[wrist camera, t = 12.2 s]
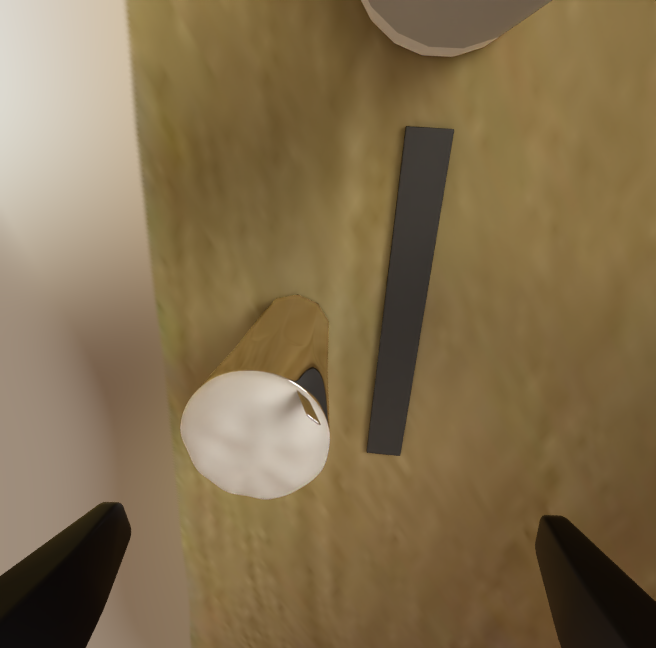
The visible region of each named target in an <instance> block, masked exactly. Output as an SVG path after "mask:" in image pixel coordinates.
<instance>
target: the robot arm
mask: <svg viewBox="0 0 656 648" xmlns="http://www.w3.org/2000/svg"><path fill="white" fill-rule="evenodd" d="M130 536H131V527H130V523H129V521H128V518H127V515H126V513H125V510H124V507H123V505H122V504H121V503H118V502H103V503H101V504H99V505H97V506H96V507H95V508H93V509H92V510H90V511H89V512H88V513H86V514H85V515H84V516H82V517H81V518H79V519H78V520H77V521H75V522H74V523H73V524H71V525H70V526H68V527H67V528H66V529H64V530H63V531H62V532H60V533H59V534H58V535H56V536H55V537H53V538H52V539H51V540H49V541H48V542H46V543H45V544H44V545H42V546H41V547H40V548H38V549H37V550H35V551H34V552H33V553H31V554H30V555H29V556H27V557H26V558H25V559H23V560H22V561H20V562H19V563H18V564H16V565H15V566H13V567H12V568H11V569H10V570H8V571H7V572H5V573H4V574H3V575H1V576H0V648H86V646H87V644H88V642H89V640H90V637H91V635H92V633H93V631H94V629H95V627H96V625H97V623H98V621H99V618H100V616H101V614H102V612H103V609H104V607H105V604H106V602H107V599H108V597H109V594H110V591H111V589H112V586H113V583H114V581H115V578H116V575H117V573H118V570H119V567H120V564H121V562H122V559H123V556H124V554H125V550H126V548H127V545H128V543H129V540H130ZM535 549H536V555H537V559H538V563H539V567H540V571H541V575H542V579H543V582H544V586H545V590H546V594H547V598H548V602H549V606H550V609H551V613H552V617H553V621H554V625H555V628H556V632H557V635H558V639H559V642H560V645H561V648H656V601H654V600H653V599H652V598H651V597H650V596H649V595H648V594H647V593H646V592H645V591H644V590H643V589H642V588H641V587H639V586H638V585H637V584H636V583H635V582H634V581H633V580H632V579H631V578H630V577H629V576H628V575H627V574H626V573H625V572H623V571H622V570H621V569H620V568H619V567H618V566H617V565H616V564H615V563H614V562H613V561H612V560H611V559H610V558H608V557H607V556H606V555H605V554H604V553H603V552H602V551H601V550H600V549H599V548H598V547H597V546H596V545H595V544H594V543H592V542H591V541H590V540H589V539H588V538H587V537H586V536H585V535H584V534H583V533H582V532H581V531H580V530H579V529H578V528H576V527H575V526H574V525H573V524H572V523H571V522H570V521H569V520H568V519H567V518H565V517H563V516H558V515H544V516H542V517H541V519H540V522H539V527H538V532H537V537H536V542H535Z"/></svg>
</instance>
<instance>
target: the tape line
mask: <svg viewBox="0 0 656 648" xmlns="http://www.w3.org/2000/svg"><path fill="white" fill-rule="evenodd" d="M453 134H454V129H443V128H427V127H410V126H406V131H405V139H404V147H403V155H402V164H401V172H400V180H399V188H398V197H397V205H396V213H395V221H394V230H393V238H392V246H391V255H390V263H389V271H388V279H387V288H386V296H385V304H384V312H383V321H382V329H381V337H380V345H379V354H378V362H377V370H376V379H375V387H374V395H373V403H372V412H371V420H370V428H369V436H368V445H367V453H376V454H386V455H396V456H400V454H401V448H402V442H403V436H404V430H405V424H406V418H407V412H408V406H409V400H410V394H411V388H412V382H413V375H414V369H415V363H416V357H417V351H418V345H419V339H420V333H421V327H422V321H423V315H424V309H425V303H426V297H427V291H428V285H429V279H430V273H431V267H432V261H433V255H434V249H435V242H436V236H437V230H438V224H439V218H440V212H441V206H442V200H443V194H444V188H445V182H446V176H447V170H448V164H449V158H450V152H451V146H452V140H453Z"/></svg>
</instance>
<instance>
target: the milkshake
mask: <svg viewBox="0 0 656 648" xmlns="http://www.w3.org/2000/svg"><path fill="white" fill-rule="evenodd" d="M328 343H329V321H328V319H327V317H326V316H325V314H324V312H323V311H322V309H321V308H320V306H319V304H318V303H316V302H314V301H312V300H309V299H307V298H305V297H303V296H300V295H298V294H297V295H291V296H285V297H279V298H276V299H275V300H274V301H273V302H272V303H271V305H270V306H269V307H268V308H267V309H266V310H265V311H264V312H263V313H262V314H261V315H260V317H259V318H258V319H257V321H256V322H255V323H254V324H253V326H252V327H251V328H250V330H249V331H248V332H247V333H246V335H245V336H244V337H243V338H242V340H241V341H240V342H239V344H238V345H237V346H236V347H235V349H234V350H233V351H232V352H231V353H230V354H229V355H228V356H227V357H226V358H225V359H224V360H223V361H222V363H221V364H220V365H219V366H218V367H217V368H216V369H215V370H214V372H213V373H212V374H211V375H210V376H209V377H208V378H207V380H206V381H205V382H204V383H203V384H202V385H201V386H200V387H199V389H198V390H197V391H196V392H195V393H194V394H193V396H192V397H191V398H190V400H189V401H188V403H187V405H186V407H185V409H184V412H183V415H182V418H181V425H180V431H181V436H182V440H183V442H184V445H185V447H186V449H187V451H188V453H189V456H190V458H191V460H192V462H193V464H194V466H195V467H196V469H197V470H198V472H199V473H201V474H202V475H203V476H205V477H206V478H208V479H209V480H210V481H212V482H213V483H214V484H216V485H217V486H218V487H219V488H221V489H223V490H224V491H226V492H229V493H233V494H238V495H245V496H250V497H255V498H259V499H273V498H278V497H282V496H285V495H288V494H290V493H292V492H294V491H296V490H298V489H300V488H301V487H303V486H305V485H306V484H308V483H309V482H311V481H312V480H313V479H314V478H315V477H316V476H317V475H318V474H319V473H320V472H321V470H322V469H323V467H324V465H325V462H326V459H327V456H328V451H329V443H330V430H329V397H328Z"/></svg>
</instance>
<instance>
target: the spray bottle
mask: <svg viewBox="0 0 656 648" xmlns="http://www.w3.org/2000/svg"><path fill="white" fill-rule="evenodd" d="M361 1H362V3H363V5H364V7H365V9H366V11H367V13H368V15H369V17H370V19H371V21H372V22H373V23H374V24H375V25H376V26H377V27H378V28H379V29H380V30H381V31H382V32H383V33H385V34H386V35H387V36H388V37H389V38H390V39H391V40H392V41H393V42H394V43H395V44H397V45H400V46H402V47H404V48H406V49H409V50H411V51H413V52H415V53H418V54H420V55H423V56H445V57H454V56H457V55H460V54H464V53H467V52H470V51H473V50H476V49H480V48H483V47H485V46H486V45H488V44H489V43H491V42H492V41H494V40H495V39H497V38H498V37H500V36H501V35H502V34H504V33H505V32H507V31H508V30H510V29H511V28H513V27H514V26H515V25H517V24H518V23H520V22H521V21H523V20H524V19H526V18H527V17H529V16H530V15H531V14H533V13H534V12H536V11H537V10H539V9H540V8H542V7H543V6H544V5H546V4H547V3H549V2H550V1H552V0H361Z"/></svg>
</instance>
